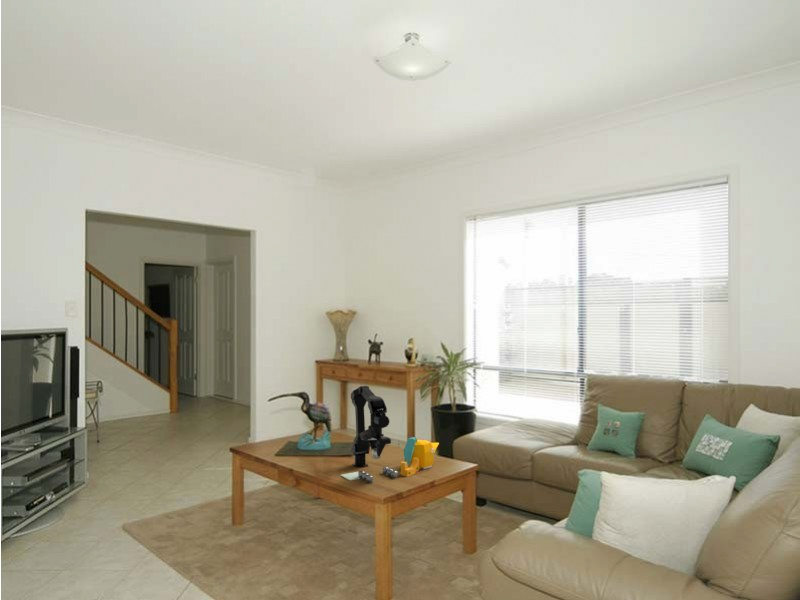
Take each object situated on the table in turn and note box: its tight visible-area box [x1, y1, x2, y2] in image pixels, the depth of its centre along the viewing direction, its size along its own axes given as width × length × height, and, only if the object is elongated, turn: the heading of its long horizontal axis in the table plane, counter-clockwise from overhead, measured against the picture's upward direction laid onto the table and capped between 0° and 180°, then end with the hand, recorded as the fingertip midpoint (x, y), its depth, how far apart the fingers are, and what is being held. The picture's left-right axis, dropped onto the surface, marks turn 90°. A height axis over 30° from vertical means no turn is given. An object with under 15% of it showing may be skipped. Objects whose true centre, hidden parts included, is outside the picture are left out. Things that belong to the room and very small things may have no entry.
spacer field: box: [357, 466, 398, 484], centre depth 276 cm, size 11×17×3 cm, turn 122°
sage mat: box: [340, 471, 361, 482], centre depth 278 cm, size 10×10×1 cm
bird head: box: [403, 436, 440, 470], centre depth 299 cm, size 14×26×16 cm, turn 136°
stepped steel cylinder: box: [371, 448, 382, 460], centre depth 276 cm, size 4×4×4 cm
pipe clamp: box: [400, 457, 420, 477], centre depth 284 cm, size 12×4×6 cm, turn 141°
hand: (376, 455), depth 276 cm, fingers closed on stepped steel cylinder, 4 cm apart
